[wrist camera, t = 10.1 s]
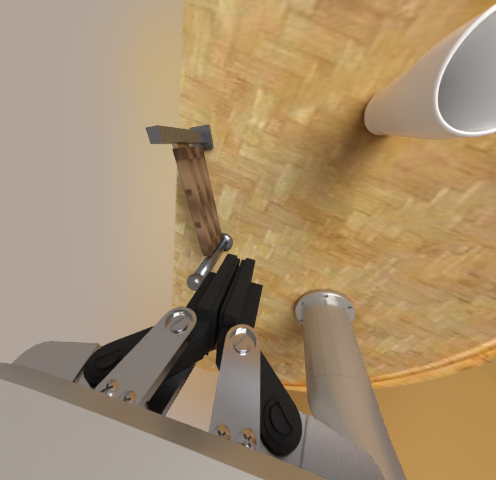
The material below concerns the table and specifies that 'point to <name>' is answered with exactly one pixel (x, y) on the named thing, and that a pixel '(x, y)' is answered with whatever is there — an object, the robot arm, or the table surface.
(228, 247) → the hinge post
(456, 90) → the drinking glass
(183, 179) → the gate
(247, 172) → the table surface
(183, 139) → the post
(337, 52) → the table surface
